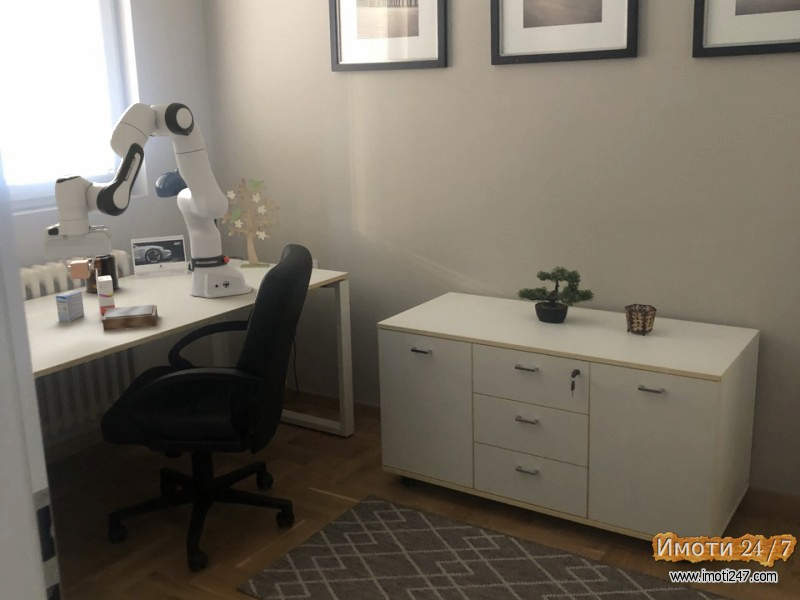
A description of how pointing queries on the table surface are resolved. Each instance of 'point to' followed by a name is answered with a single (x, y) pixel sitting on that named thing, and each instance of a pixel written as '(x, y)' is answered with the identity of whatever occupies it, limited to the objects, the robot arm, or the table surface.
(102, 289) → the ink cartridge box
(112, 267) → the jar
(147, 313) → the walnut riser
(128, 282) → the table surface
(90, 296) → the table surface
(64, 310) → the medicine box
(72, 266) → the terracotta cube
